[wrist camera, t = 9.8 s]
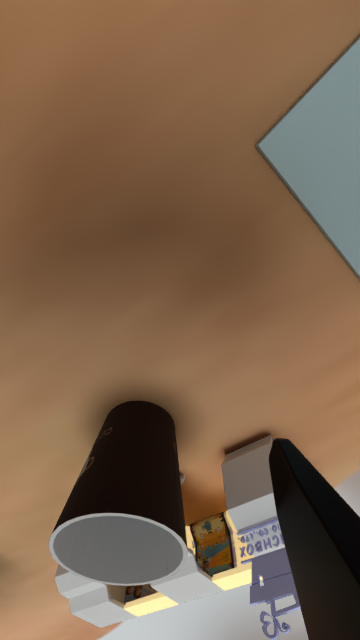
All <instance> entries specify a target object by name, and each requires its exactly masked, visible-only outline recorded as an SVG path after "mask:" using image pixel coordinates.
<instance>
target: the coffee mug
mask: <svg viewBox="0 0 360 640" xmlns="http://www.w3.org/2000/svg"><path fill="white" fill-rule="evenodd" d="M48 547H49V550H50V554H51V555H52V557H53V558H54V560H55V561H56V562H57V563H58V564H59V565H60V566H61V567H63V568H64V569H66V570H67V571H69V572H70V573H72V574H75V575H77V576H79V577H81V578H84V579H87V580H90V581H94V582H98V583H103V584H110V585H121V586H133V585H144V584H150V583H154V582H158V581H162V580H164V579H166V578H169V577H171V576H173V575H174V574H176V573H177V572H179V571H180V569H181V568H182V567H183V566H184V565H185V563H186V561H187V557H188V548H187V538H186V529H185V519H184V510H183V500H182V491H181V481H180V472H179V463H178V453H177V444H176V434H175V426H174V421H173V419H172V417H171V416H170V415H169V413H168V412H167V411H165V410H164V409H163V408H161V407H160V406H158V405H155V404H153V403H150V402H144V401H131V402H126V403H122V404H120V405H118V406H116V407H115V408H114V409H112V410H111V411H110V413H109V414H108V416H107V418H106V420H105V422H104V424H103V426H102V429H101V431H100V433H99V435H98V437H97V439H96V441H95V443H94V445H93V448H92V450H91V452H90V454H89V456H88V458H87V460H86V462H85V464H84V467H83V469H82V471H81V473H80V475H79V477H78V479H77V481H76V484H75V486H74V488H73V490H72V492H71V494H70V496H69V498H68V500H67V503H66V505H65V507H64V509H63V511H62V513H61V515H60V517H59V519H58V522H57V524H56V526H55V528H54V530H53V532H52V534H51V536H50V539H49V546H48Z"/></svg>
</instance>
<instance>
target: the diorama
mask: <svg viewBox="0 0 360 640" xmlns="http://www.w3.org/2000/svg"><path fill="white" fill-rule="evenodd" d="M272 440H273V438H272V436H271V435H269V436H267V437H265V438H262V439H260V440H258V441H256V442H254V443H251V444H249V445H247V446H245V447H243V448H240V449H238V450H236V451H234V452H232V453H229V454H227V455H225V458H226V459H225V460H224V461H223V463H222V464H221V465H222V474H223V482H224V490H225V498H226V507H227V511H226V512H222V513H219V514H217V515H214V516H212V517H209V518H206V519H204V520H201V521H199V522H196V523H194V524H191V525H190V526H189V527H188V526H186V527H185V529H186V538H187V548H188V557H187V561H186V563H185V565H184V566H183V567H182V568H181V569H180V571H179V572H177V573H176V574H174V575H173V576H171V577H169V578H166V579H164V580H162V581H158V582H154V583H150V584H144V585H133V586H121V585H110V584H103V583H98V582H94V581H90V580H87V579H84V578H81V577H79V576H77V575H75V574H72V573H70V572H69V571H67V570H66V569H64V568H63V567H61V566H60V565H59V566H58V569H57V572H56V575H55V580H56V583H57V587H58V590H59V593H60V594H61V595H63V596H65V597H66V598H68V599H69V603H70V610H71V614H73V615H75V616H77V617H79V618H81V619H83V620H85V621H87V622H89V623H91V624H93V625H95V626H97V627H100V628H102V627H105V626H108V625H112V624H115V623H118V622H122V621H125V620H128V619H132V618H135V617H138V616H141V615H145V614H148V613H152V612H155V611H158V610H162V609H165V608H168V607H172V606H175V605H178V604H182V603H185V602H188V601H192V600H195V599H198V598H201V597H205V596H208V595H212V594H215V593H219V592H222V591H225V590H229V589H232V588H235V587H239V586H242V585H245V584H248V583H252V586H250V604H251V605H256V604H260V603H263V602H266V603H267V604H270V603H271V613H272V616H273V617H274V618H273V622H274V634H273V635H269V634H268V632H267V626H268V625H269V624H270V622H266V621H264V619H263V618H264V615H268V616H270V615H269V614H267V613H266V612H261V615H260V620H261V622H262V623H264V625H263V627H262V629H263V632H264V634H265V635H266V636H267V637H269V638H270V639H272V640H275V639H277V638H278V636H279V632H278V628H279V630H280V631H281V632H283V633H285V634H287V633H289V632H290V626H289V625H288V624H286V623H284V622H283V623H282V628H283V629H285V630H286V629H287V630H286V631H282V630H281V627H280V624H279V622H278V620H277V619H276V618H275V617H276V616H280V615H283V614H287V613H289V612H292V611H295V610H297V609H300V608H301V607H300V603H299V599H298V595H297V592H296V588H295V584H294V580H293V576H292V572H291V568H290V564H289V560H288V557H287V553H286V549H285V545H284V541H283V537H282V533H281V529H280V525H279V521H278V517H277V512H276V507H275V500H274V494H273V487H272V481H271V474H270V467H269V453H270V450H271V447H272ZM180 481H181V484H182V483H183V482H184V481H185V475H184V474H183V475H181V476H180ZM262 579H263V583H264V586H261V587H260V580H262ZM290 595H294V598H295V600H296V604H294V605H292V606H289V607H287V608H284V609H281V610H278V611H276V610H275V600H277V599H280V598H283V597H286V596H290ZM285 625H287V626H285Z"/></svg>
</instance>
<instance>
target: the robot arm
mask: <svg viewBox="0 0 360 640" xmlns="http://www.w3.org/2000/svg"><path fill="white" fill-rule="evenodd" d="M269 467H270V474H271V481H272V487H273V494H274V500H275V507H276V512H277V517H278V521H279V525H280V529H281V533H282V537H283V541H284V545H285V549H286V553H287V557H288V560H289V564H290V568H291V572H292V576H293V580H294V584H295V588H296V592H297V595H298V599H299V603H300V607H301V611H302V615H303V618H304V623H305V626H306V630H307V634H308V638H309V640H360V517H359V516H358V515H357V514H356V513H355V512H354V511H353V509H352V508H351V507H350V506H349V505H348V504H347V503H346V502H345V501H344V499H343V498H342V497H340V495H339V494H338V493H337V492H336V491H335V490H334V488H333V487H332V486H331V485H330V484H329V483H328V482H327V481H326V480H325V479H324V477H323V476H322V475H321V474H320V473H319V472H318V471H317V470H316V469H315V468H314V466H313V465H312V464H311V463H310V462H309V461H308V460H307V459H306V458H305V457H304V455H303V454H302V453H301V452H300V451H299V450H298V449H297V448H296V447H295V446H294V444H293V443H292V442H291V441H290V440H288V439H285V438H276V439H274V441H273V444H272V447H271V450H270V453H269Z"/></svg>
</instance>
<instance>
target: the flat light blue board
mask: <svg viewBox="0 0 360 640" xmlns="http://www.w3.org/2000/svg"><path fill="white" fill-rule="evenodd" d="M255 147H256V148H257V149H258V151H259V152H260V153H261V154H262V156H263V157H264V158H265V159H266V161H267V162H268V163H269V165H270V166H271V167H272V168H273V170H274V171H275V172H276V174H277V175H278V176H279V177H280V179H281V180H282V181H283V183H284V184H285V185H286V186H287V188H288V189H289V190H290V191H291V193H292V194H293V195H294V197H295V198H296V199H297V200H298V202H299V203H300V204H301V206H302V207H303V208H304V209H305V211H306V212H307V213H308V215H309V216H310V217H311V218H312V220H313V221H314V222H315V223H316V225H317V226H318V227H319V229H320V230H321V231H322V232H323V234H324V235H325V236H326V238H327V239H328V240H329V241H330V243H331V244H332V245H333V247H334V248H335V249H336V250H337V252H338V253H339V254H340V256H341V257H342V258H343V259H344V261H345V262H346V263H347V264H348V266H349V267H350V268H351V270H352V271H353V272H354V273H355V275H356V276H357V277H358V279H359V280H360V36H359V37H358V38H357V39H356V40H355V41H354V42H353V43H352V44H351V45H350V47H349V48H348V49H347V50H346V51H345V52H344V53H343V54H342V55H341V56H340V57H339V58H338V59H337V60H336V61H335V62H334V63H333V64H332V65H331V66H330V68H329V69H328V70H327V71H326V72H325V73H324V74H323V75H322V76H321V77H320V78H319V79H318V80H317V81H316V82H315V83H314V84H313V85H312V86H311V88H310V89H309V90H308V91H307V92H306V93H305V94H304V95H303V96H302V97H301V98H300V99H299V100H298V101H297V102H296V103H295V104H294V105H293V106H292V107H291V109H290V110H289V111H288V112H287V113H286V114H285V115H284V116H283V117H282V118H281V119H280V120H279V121H278V122H277V123H276V124H275V125H274V126H273V127H272V129H271V130H270V131H269V132H268V133H267V134H266V135H265V136H264V137H263V138H262V139H261V140H260V141H259V142H258V143H257V144H256V145H255Z"/></svg>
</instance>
